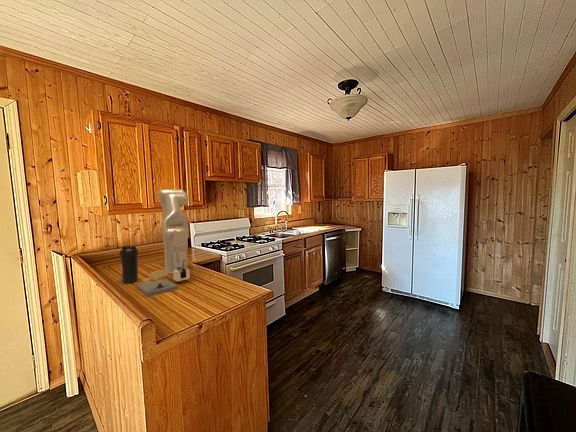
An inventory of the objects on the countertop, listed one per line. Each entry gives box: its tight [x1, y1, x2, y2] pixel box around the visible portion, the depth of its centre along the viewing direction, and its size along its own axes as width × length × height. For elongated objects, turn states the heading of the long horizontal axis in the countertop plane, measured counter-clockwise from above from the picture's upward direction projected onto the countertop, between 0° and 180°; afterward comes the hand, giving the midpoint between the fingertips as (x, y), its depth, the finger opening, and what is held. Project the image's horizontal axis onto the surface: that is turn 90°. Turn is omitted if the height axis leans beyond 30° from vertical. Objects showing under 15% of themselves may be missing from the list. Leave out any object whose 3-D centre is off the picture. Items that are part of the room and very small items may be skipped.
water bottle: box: [118, 245, 139, 285], centre depth 164 cm, size 10×10×23 cm
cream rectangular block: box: [172, 267, 191, 282], centre depth 162 cm, size 8×6×6 cm
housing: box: [137, 278, 179, 297], centre depth 151 cm, size 16×20×2 cm
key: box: [141, 268, 169, 287], centre depth 145 cm, size 2×14×9 cm, turn 151°
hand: (181, 276), depth 162 cm, fingers closed on cream rectangular block, 5 cm apart
